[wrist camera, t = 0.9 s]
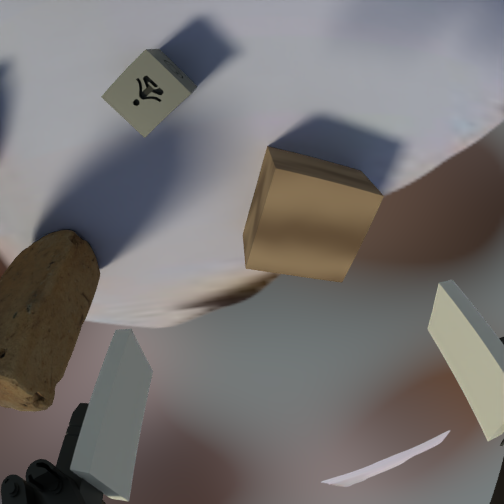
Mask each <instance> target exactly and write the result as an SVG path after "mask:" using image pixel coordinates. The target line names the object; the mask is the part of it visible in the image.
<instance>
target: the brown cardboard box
mask: <svg viewBox="0 0 504 504" xmlns="http://www.w3.org/2000/svg"><path fill="white" fill-rule="evenodd" d="M383 197H384V196H383V195H382V193H381V192H380V191H379V190H378V189H377V188H376V187H375V186H374V184H373V183H372V182H371V181H370V180H369V179H368V178H367V177H366V176H365V175H364V174H363V172H362V171H360V170H356V169H353V168H350V167H346V166H343V165H339V164H336V163H332V162H328V161H325V160H321V159H317V158H313V157H310V156H306V155H302V154H298V153H294V152H290V151H286V150H281V149H277V148H273V147H268V146H267V150H266V153H265V157H264V160H263V164H262V167H261V171H260V174H259V178H258V182H257V185H256V189H255V192H254V196H253V200H252V203H251V207H250V210H249V214H248V218H247V221H246V225H245V229H244V232H243V242H244V254H245V266H246V269H253V270H259V271H266V272H273V273H279V274H287V275H293V276H301V277H307V278H314V279H322V280H329V281H335V282H343V279H344V277H345V276H346V274H347V272H348V270H349V268H350V266H351V264H352V262H353V260H354V258H355V256H356V254H357V252H358V250H359V248H360V246H361V244H362V242H363V240H364V238H365V236H366V234H367V232H368V229H369V227H370V225H371V223H372V221H373V219H374V217H375V215H376V212H377V210H378V208H379V206H380V204H381V202H382V199H383Z"/></svg>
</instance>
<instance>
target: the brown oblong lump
mask: <svg viewBox="0 0 504 504" xmlns="http://www.w3.org/2000/svg"><path fill="white" fill-rule="evenodd" d="M99 278H100V270H99V266H98V263H97V259H96V257H95V254H94V252H93V250H92V248H91V246H90V245H89V244H88V243H87V241H85V240H82V239H81V238H80V237H79V236H78V235H77V234H76V233H75V232H73V231H71V230H61V231H57V232H53V233H50V234H48V235H46V236H44V237H42V238H41V239H40V240H38V241H36V242H34V243H33V244H32V245H31V246H29V247H28V248H26V249H24V250H23V251H22V252H21V253H20V254H19V255H18V256H17V257H16V258H15V259H14V261H13V262H12V263H11V265H10V266H9V267H8V269H7V270H6V271H5V273H4V274H3V275H2V277H1V278H0V406H2V407H7V408H14V409H16V410H19V411H41V410H46V409H47V408H48V407H50V406H51V405H52V403H53V400H54V395H55V386H56V384H57V383H58V382H59V381H60V380H61V378H62V377H63V375H64V372H65V370H66V367H67V365H68V361H69V360H70V357H71V355H72V352H73V350H74V347H75V344H76V341H77V339H78V336H79V333H80V330H81V326H82V324H83V322H84V320H85V319H86V316H87V313H88V311H89V308H90V306H91V303H92V300H93V297H94V294H95V292H96V289H97V285H98V281H99Z"/></svg>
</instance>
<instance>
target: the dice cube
mask: <svg viewBox="0 0 504 504" xmlns="http://www.w3.org/2000/svg"><path fill="white" fill-rule="evenodd" d="M196 87H197V86H196V85H195V84H194V83H193V82H192V81H191V80H190V79H189V78H188V77H187V76H186V75H185V74H184V73H183V72H182V71H181V70H180V69H179V68H178V67H177V66H176V65H175V64H174V63H173V62H172V61H171V60H170V59H169V58H168V57H167V56H166V55H165V54H164V53H163V52H162V51H161V50H160V49H146V50H145V51H144V52H143V53H142V54H141V55H140V56H139V57H138V58H137V59H136V60H135V61H134V62H133V63H132V64H131V65H130V66H129V67H128V68H127V69H126V70H125V71H124V72H123V73H122V74H121V75H120V76H119V78H118V79H117V80H116V81H115V82H114V83H113V84H112V85H111V86H110V87H109V89H108V90H107V91H106V92H105V93H104V94H103V95H102V98H103V99H104V100H105V101H106V102H107V103H108V104H109V105H110V106H111V107H113V108H114V109H115V110H116V111H117V112H118V113H119V114H120V115H121V116H122V117H123V118H124V119H125V120H126V121H127V122H128V123H129V124H130V125H132V126H133V127H134V128H135V129H136V130H137V131H138V132H139V133H140V134H141V135H142V136H143V137H144V138H145V137H146V136H147V135H148V134H149V133H150V132H151V131H152V130H153V129H154V128H155V127H156V126H157V125H158V124H159V123H160V122H161V121H162V120H163V119H164V118H165V117H166V116H168V115H169V114H170V113H171V112H172V111H173V110H174V109H175V108H176V107H177V106H178V105H179V104H180V103H181V102H183V101H184V100H185V99H186V98H187V97H188V96H189V95H190V94H191V93H192V92H193V91H194V90H195V89H196Z"/></svg>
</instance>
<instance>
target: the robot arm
mask: <svg viewBox="0 0 504 504" xmlns="http://www.w3.org/2000/svg"><path fill="white" fill-rule="evenodd" d="M428 331H429V333H430V334H431V336H432V338H433V339H434V341H435V343H436V344H437V346H438V348H439V349H440V351H441V353H442V355H443V356H444V358H445V360H446V361H447V363H448V365H449V367H450V369H451V370H452V372H453V374H454V376H455V377H456V379H457V381H458V383H459V385H460V386H461V388H462V390H463V392H464V394H465V396H466V398H467V400H468V402H469V404H470V406H471V408H472V410H473V411H474V413H475V416H476V418H477V420H478V422H479V424H480V426H481V428H482V430H483V432H484V434H485V436H486V438H487V441H490V440H492V439H494V438H495V437H497V436H499V435H501V434H503V432H504V337H502V338H498V336H497V335H496V334H495V332H494V331H493V330H492V328H491V327H490V326H489V324H488V323H487V322H486V320H485V319H484V318H483V317H482V315H481V314H480V313H479V312H478V310H477V309H476V308H475V306H474V305H473V304H472V303H471V302H470V300H469V299H468V298H467V297H466V295H465V294H464V293H463V292H462V291H461V289H460V288H459V287H458V286H457V285H456V283H455V282H454V281H453V280H449V281H445V282H440V283H439V284H438V289H437V293H436V298H435V302H434V306H433V310H432V314H431V318H430V322H429V326H428ZM152 373H153V370H152V368H151V366H150V365H149V363H148V361H147V359H146V357H145V355H144V353H143V351H142V349H141V347H140V345H139V343H138V341H137V339H136V337H135V335H134V333H133V331H132V329H123V330H116V331H115V333H114V336H113V338H112V341H111V343H110V346H109V349H108V351H107V354H106V357H105V359H104V362H103V365H102V368H101V370H100V373H99V376H98V379H97V382H96V385H95V388H94V391H93V393H92V396H91V399H90V402H89V404H87V403H80V404H79V405H78V407H77V408H76V410H75V411H74V412H73V414H72V417H71V419H70V422H69V427H68V429H67V432H66V435H65V438H64V441H63V445H62V448H61V451H60V454H59V458H58V461H57V465H56V467H55V466H54V465H53V464H52V463H50V462H49V461H47V460H44V459H39V460H36V461H34V462H33V463H31V464H30V466H29V467H28V469H27V472H26V481H25V480H23V479H22V478H21V477H19V476H17V475H9V476H7V477H6V479H4V481H3V483H2V487H1V495H2V504H106V503H105V502H104V501H103V500H102V498H103V494H105V495H107V496H108V497H110V498H111V499H117V500H124V501H129V498H130V491H131V484H132V478H133V471H134V465H135V460H136V454H137V448H138V443H139V437H140V432H141V426H142V421H143V416H144V411H145V406H146V401H147V397H148V392H149V387H150V382H151V378H152ZM503 445H504V439H503V441H502V442H501V445H500V446H503ZM490 504H504V458H503V462H502V466H501V470H500V473H499V477H498V480H497V483H496V487H495V490H494V493H493V496H492V499H491V502H490Z"/></svg>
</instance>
